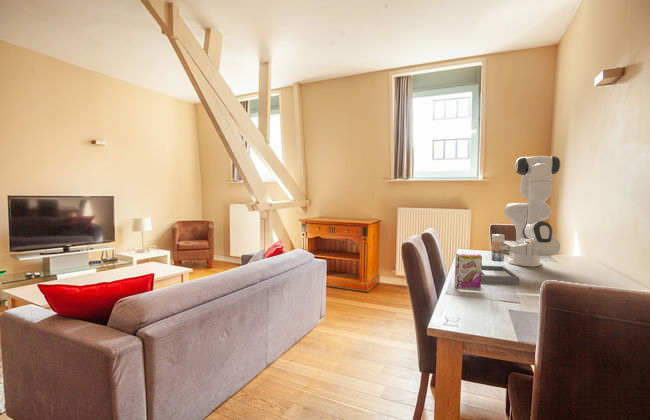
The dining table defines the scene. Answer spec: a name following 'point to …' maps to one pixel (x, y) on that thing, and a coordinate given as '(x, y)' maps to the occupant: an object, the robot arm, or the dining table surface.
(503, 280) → the tray
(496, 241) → the steel tin
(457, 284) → the candy bar box
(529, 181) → the robot arm
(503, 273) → the white rectangular block
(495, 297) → the dining table surface
